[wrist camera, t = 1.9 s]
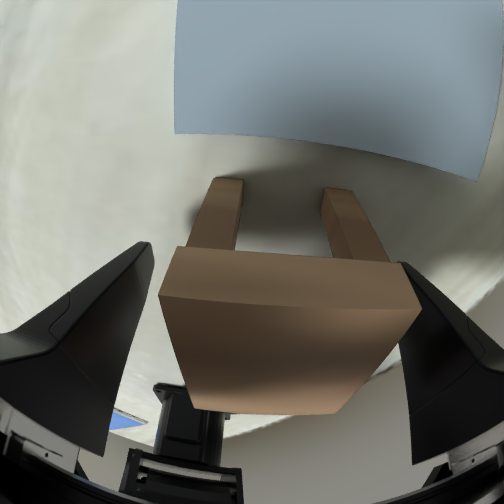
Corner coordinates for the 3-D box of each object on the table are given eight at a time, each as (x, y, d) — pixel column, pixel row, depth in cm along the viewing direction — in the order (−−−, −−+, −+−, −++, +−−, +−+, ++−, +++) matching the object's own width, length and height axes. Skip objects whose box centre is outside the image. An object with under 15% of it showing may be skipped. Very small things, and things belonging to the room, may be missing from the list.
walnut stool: (320, 303, 13) (334, 413, 8) (213, 295, 13) (194, 408, 8) (355, 186, 9) (422, 308, 5) (210, 172, 9) (157, 294, 5)
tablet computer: (67, 379, 26) (64, 387, 25) (150, 418, 31) (148, 426, 30) (56, 397, 35) (55, 403, 34) (114, 425, 40) (112, 431, 39)
